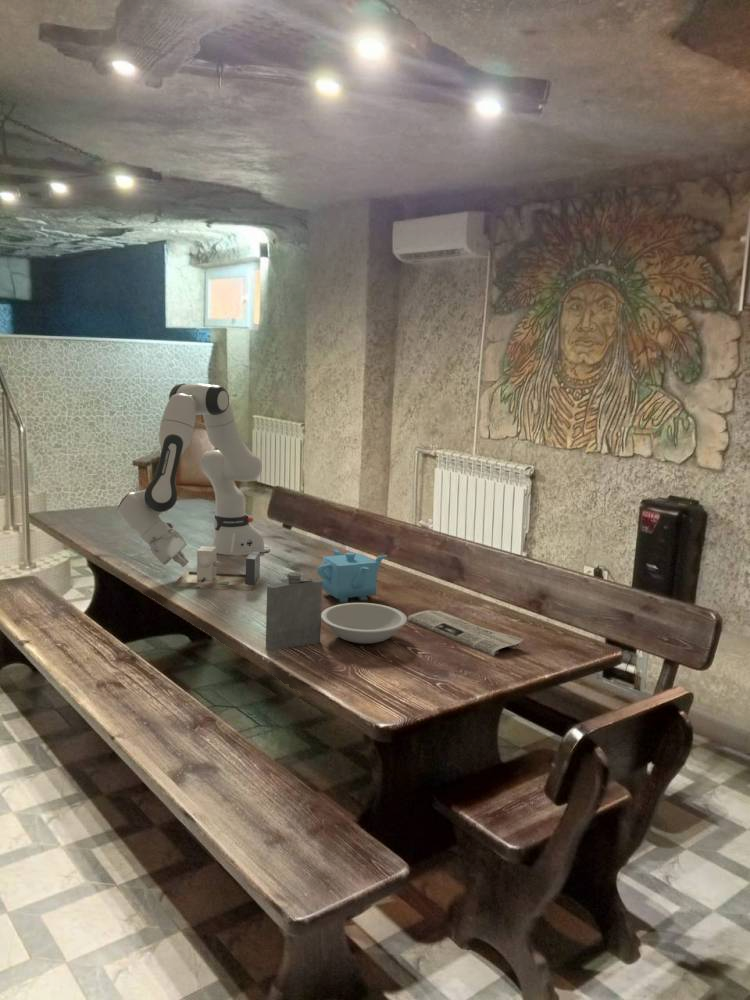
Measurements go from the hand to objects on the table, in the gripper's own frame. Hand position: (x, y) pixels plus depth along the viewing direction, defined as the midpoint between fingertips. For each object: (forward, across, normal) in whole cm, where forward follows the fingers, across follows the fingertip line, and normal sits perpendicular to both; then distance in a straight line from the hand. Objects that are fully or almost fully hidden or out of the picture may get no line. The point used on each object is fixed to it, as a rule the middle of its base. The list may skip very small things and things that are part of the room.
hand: (186, 564), depth 261 cm
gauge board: (+12, 0, -4) cm, 12 cm away
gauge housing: (+9, -1, -3) cm, 9 cm away
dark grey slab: (+19, 0, -13) cm, 23 cm away
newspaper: (+69, -35, -59) cm, 97 cm away
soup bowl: (+48, -44, -39) cm, 76 cm away
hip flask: (+35, -51, -26) cm, 67 cm away
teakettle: (+44, -6, -35) cm, 57 cm away
